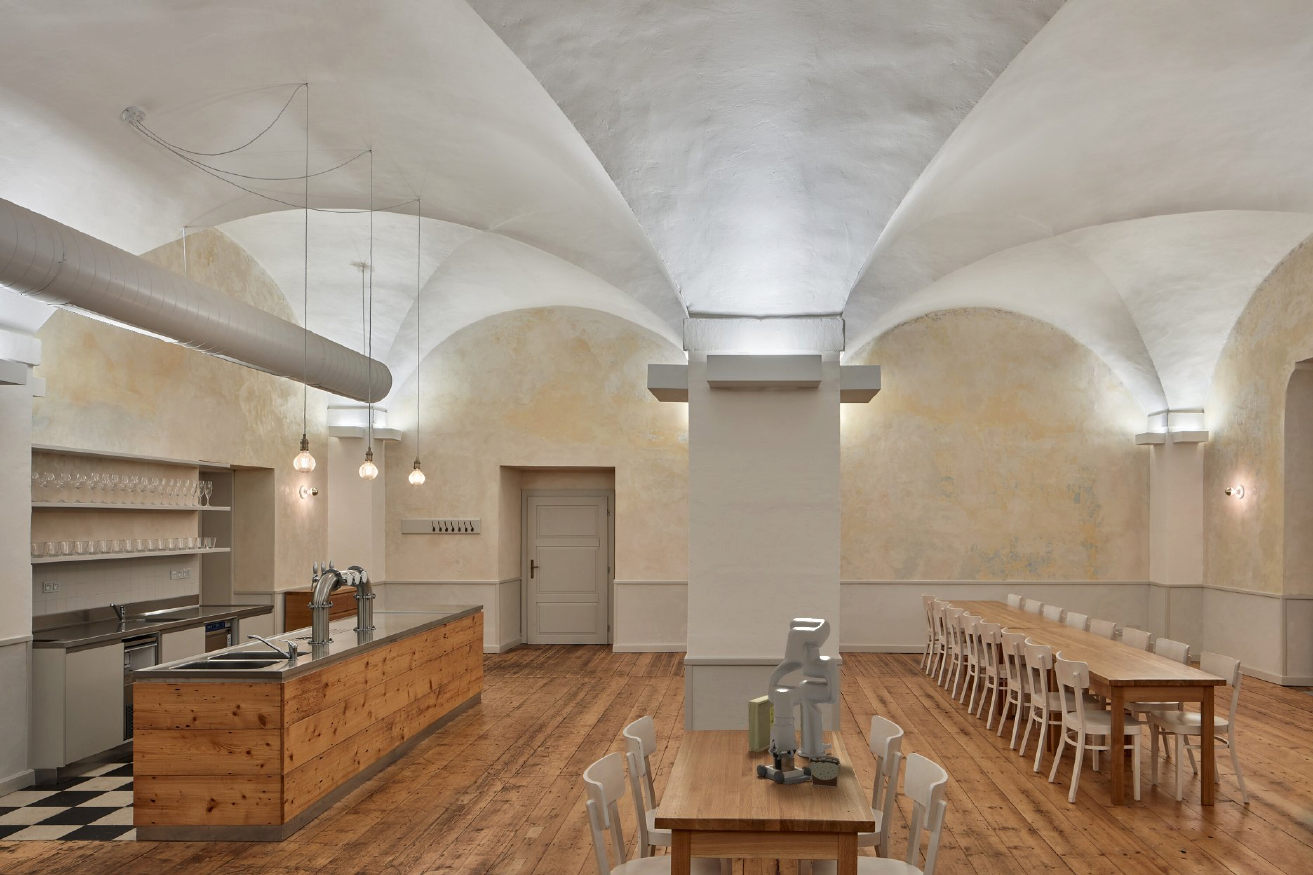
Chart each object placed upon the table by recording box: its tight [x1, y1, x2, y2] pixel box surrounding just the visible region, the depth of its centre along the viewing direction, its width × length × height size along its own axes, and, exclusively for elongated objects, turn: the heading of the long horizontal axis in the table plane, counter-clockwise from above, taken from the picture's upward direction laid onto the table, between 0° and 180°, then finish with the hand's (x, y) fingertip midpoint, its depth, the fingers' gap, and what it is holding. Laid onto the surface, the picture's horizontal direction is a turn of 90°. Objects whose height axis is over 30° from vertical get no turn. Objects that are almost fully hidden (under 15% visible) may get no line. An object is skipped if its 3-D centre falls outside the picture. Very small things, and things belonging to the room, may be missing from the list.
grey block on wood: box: [772, 751, 796, 772], centre depth 366 cm, size 5×7×6 cm
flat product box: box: [747, 694, 795, 753], centre depth 423 cm, size 35×5×22 cm, turn 145°
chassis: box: [756, 764, 812, 786], centre depth 365 cm, size 15×18×4 cm
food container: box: [807, 755, 841, 788], centre depth 356 cm, size 12×6×10 cm, turn 71°
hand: (783, 767), depth 365 cm, fingers closed on grey block on wood, 5 cm apart
